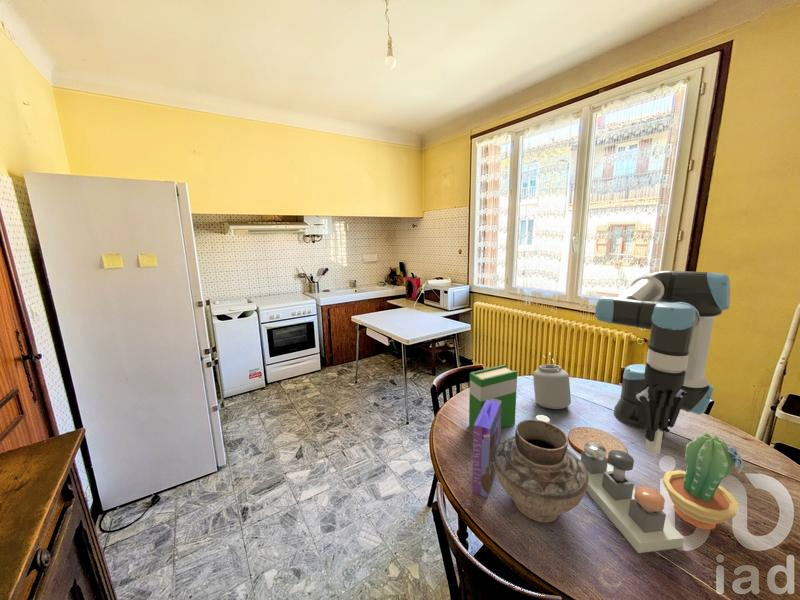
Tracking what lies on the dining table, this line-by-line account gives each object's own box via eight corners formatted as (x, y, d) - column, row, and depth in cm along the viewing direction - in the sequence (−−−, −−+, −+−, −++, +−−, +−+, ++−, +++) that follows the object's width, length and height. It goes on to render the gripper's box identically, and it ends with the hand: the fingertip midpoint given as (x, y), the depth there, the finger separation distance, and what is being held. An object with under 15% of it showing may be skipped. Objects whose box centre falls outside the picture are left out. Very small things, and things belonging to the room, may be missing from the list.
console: (598, 462, 108) (600, 442, 107) (682, 547, 79) (687, 521, 78) (565, 466, 108) (567, 445, 106) (638, 553, 78) (642, 526, 77)
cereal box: (487, 498, 96) (489, 428, 91) (472, 492, 98) (473, 424, 93) (499, 461, 111) (501, 400, 106) (485, 457, 113) (487, 397, 108)
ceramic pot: (568, 477, 102) (574, 412, 97) (598, 552, 79) (608, 471, 74) (489, 468, 108) (491, 405, 103) (495, 535, 84) (498, 458, 79)
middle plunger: (620, 469, 95) (622, 449, 93) (636, 484, 89) (639, 463, 88) (601, 471, 94) (603, 450, 93) (616, 486, 89) (619, 465, 87)
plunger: (595, 459, 106) (597, 441, 104) (608, 472, 100) (610, 453, 98) (578, 461, 105) (580, 443, 104) (590, 474, 99) (592, 455, 98)
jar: (522, 396, 153) (525, 348, 148) (548, 391, 156) (552, 344, 151) (549, 417, 135) (553, 363, 130) (577, 411, 139) (583, 359, 133)
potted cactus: (715, 551, 78) (734, 464, 73) (646, 503, 92) (658, 428, 87) (745, 526, 84) (765, 445, 79) (677, 485, 98) (690, 413, 93)
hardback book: (502, 415, 138) (504, 364, 133) (514, 424, 131) (517, 371, 126) (469, 425, 132) (469, 372, 127) (479, 435, 125) (481, 380, 120)
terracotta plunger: (646, 506, 86) (650, 484, 84) (667, 526, 80) (671, 503, 78) (626, 508, 85) (629, 487, 84) (645, 529, 80) (648, 506, 78)
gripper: (675, 358, 81) (662, 438, 86) (628, 362, 79) (617, 443, 85) (705, 371, 73) (689, 457, 78) (654, 375, 72) (641, 463, 77)
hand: (652, 450), depth 82 cm, fingers closed
